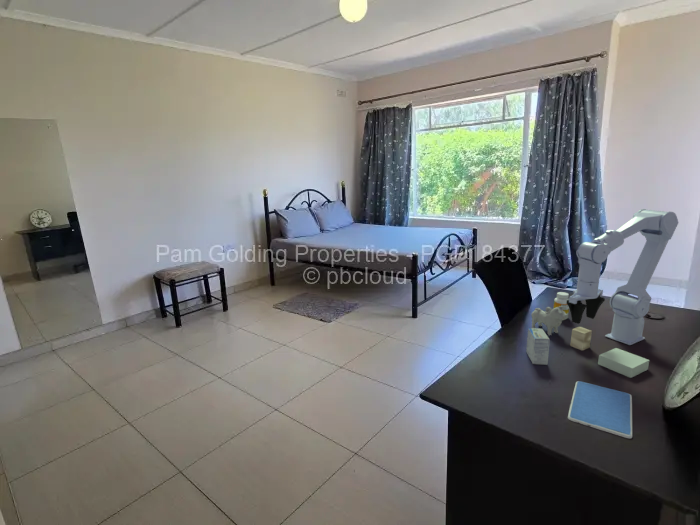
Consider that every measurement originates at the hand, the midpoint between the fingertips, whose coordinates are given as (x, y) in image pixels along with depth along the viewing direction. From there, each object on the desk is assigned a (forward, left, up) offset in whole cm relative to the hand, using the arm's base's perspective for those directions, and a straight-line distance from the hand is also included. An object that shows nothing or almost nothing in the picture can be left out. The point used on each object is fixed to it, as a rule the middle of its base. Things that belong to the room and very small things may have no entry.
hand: (583, 320), depth 122 cm
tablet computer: (+27, +22, -10) cm, 36 cm away
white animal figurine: (-2, -13, -10) cm, 16 cm away
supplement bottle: (-18, -19, -10) cm, 28 cm away
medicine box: (+19, -2, -10) cm, 21 cm away
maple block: (0, 0, -10) cm, 10 cm away
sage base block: (+2, +14, -9) cm, 17 cm away
